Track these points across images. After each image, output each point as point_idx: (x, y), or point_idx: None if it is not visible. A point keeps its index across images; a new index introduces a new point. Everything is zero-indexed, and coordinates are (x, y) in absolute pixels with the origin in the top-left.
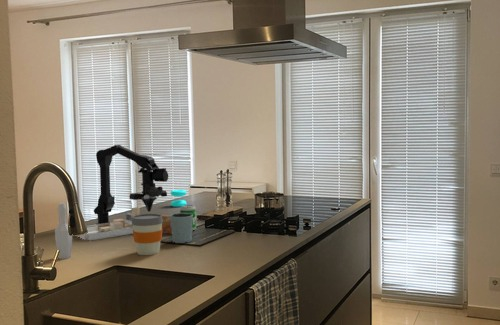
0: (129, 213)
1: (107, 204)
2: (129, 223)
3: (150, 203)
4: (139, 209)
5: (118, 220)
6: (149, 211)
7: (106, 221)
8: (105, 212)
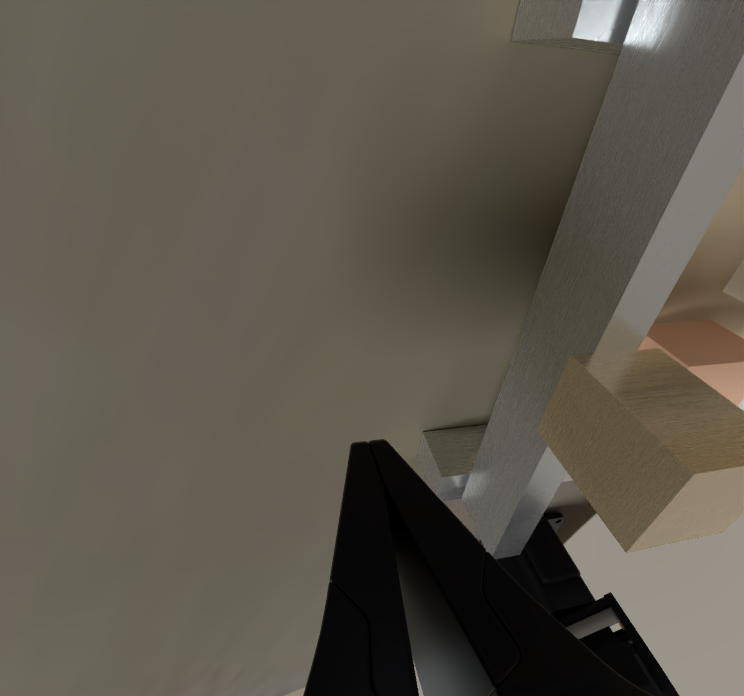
0: (500, 545)
1: (656, 694)
2: (461, 447)
3: (409, 641)
4: (667, 443)
5: (730, 382)
6: (367, 443)
7: (540, 539)
8: (570, 619)
